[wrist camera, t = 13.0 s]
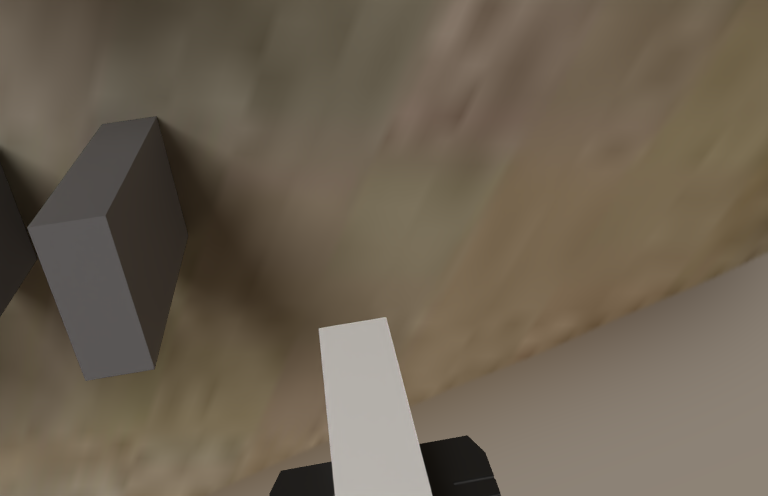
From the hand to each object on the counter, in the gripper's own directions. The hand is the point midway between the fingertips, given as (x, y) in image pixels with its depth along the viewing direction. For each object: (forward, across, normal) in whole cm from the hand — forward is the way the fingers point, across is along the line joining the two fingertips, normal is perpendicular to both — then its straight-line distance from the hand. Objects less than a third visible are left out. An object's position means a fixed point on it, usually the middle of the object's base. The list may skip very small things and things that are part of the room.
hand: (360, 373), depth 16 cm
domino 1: (+14, -7, 0) cm, 15 cm away
